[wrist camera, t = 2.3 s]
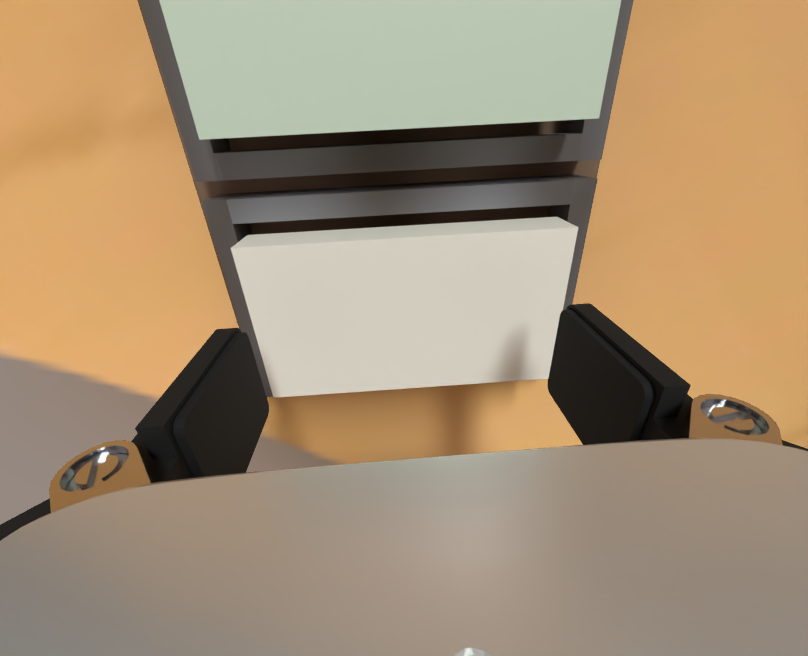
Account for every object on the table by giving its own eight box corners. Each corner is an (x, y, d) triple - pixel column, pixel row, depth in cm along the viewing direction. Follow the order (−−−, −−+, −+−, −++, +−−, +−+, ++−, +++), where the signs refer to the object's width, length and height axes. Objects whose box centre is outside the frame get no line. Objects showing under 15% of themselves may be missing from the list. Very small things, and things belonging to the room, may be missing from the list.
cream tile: (557, 216, 13) (578, 227, 11) (535, 356, 16) (549, 378, 14) (247, 234, 13) (230, 248, 11) (283, 373, 15) (273, 397, 14)
